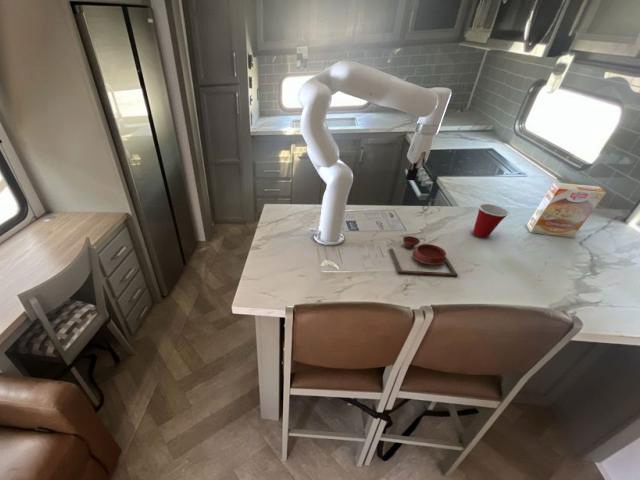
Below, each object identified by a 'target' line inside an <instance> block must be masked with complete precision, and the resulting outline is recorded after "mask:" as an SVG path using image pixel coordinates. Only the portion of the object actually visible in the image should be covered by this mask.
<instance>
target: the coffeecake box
mask: <svg viewBox="0 0 640 480" xmlns="http://www.w3.org/2000/svg"><path fill="white" fill-rule="evenodd" d="M606 194H607V192H606V191H605V190H604V189H603V188H602V187H601V186H600V185H587V184H576V183H564V182H554V181H553V183H552V184H551V186H550V187H549V189H548V190H547V192H546V194H545V195H544V197H543V199H542V200H541V201H540V203H539V204H538V207H537V208H536V210H535V211H534V213H533V215H532V216H531V217H530V219H529V221H528V223H527V224H526V226H527V228H528V230H529V232H530V233H533V234H540V235H549V236H557V237H565V238H574V237H575V235H576V234H577V233H578V231H579V230H580V229H581V227H582V226H583V225H584V224H585V222H586V221H587V219H588V218H589V217H590V215H591V214H592V213H593V211H594V210H595V209H596V208H597V206H598V205H599V203H600V202H601V201H602V200H603V198H604V197H605V195H606Z"/></svg>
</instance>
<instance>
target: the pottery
mask: <svg viewBox="0 0 640 480" xmlns="http://www.w3.org/2000/svg"><path fill="white" fill-rule="evenodd" d="M402 241H403V243H404V245H405V246H404V247H405V248H406V249H413V248H414V247H416V246H417V247H416V249H414V250H413V252H412V257H413V258H414V259H415V260H416V261H418V262H420V263H422V264H424V265H428V266H440V265H443V264H444V263H445V262H446V257H447V252H446V250H445V249H443V248H442V247H440V246H438V245H434V244H430V243H429V244H428V243H424V244H420V243H421V240H420V239H419V238H417V237H415V236H404V237H403V238H402ZM419 244H420V245H419ZM445 256H446V257H445ZM445 264H446V263H445Z"/></svg>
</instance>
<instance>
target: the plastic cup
mask: <svg viewBox="0 0 640 480" xmlns="http://www.w3.org/2000/svg"><path fill="white" fill-rule="evenodd" d="M509 215H510V212H509V210H507V209H506V208H504V207H502V206H499V205H495V204H491V203H481V204H480V205H478V212H477V216H476V219H475V223H474V226H473V230H472V235H474V237H477V238H479V239H481V238H482V239H487V238H488V237H489V236H490V235H491V234H492V233H493V231H494V230H495V229H496V228H497V227H498V226H499V224H500V223H501V222H502V221H503V220H504V219H505V218H506V217H508V216H509Z"/></svg>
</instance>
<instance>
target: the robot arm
mask: <svg viewBox="0 0 640 480" xmlns="http://www.w3.org/2000/svg"><path fill="white" fill-rule="evenodd" d="M338 92H339V93H341V94H344V95H348V96H351V97H354V98H356V99H360V100H363V101H366V102H369V103H371V104H374V105H378V106H380V107H384V108H385V107H386V108H389V109H393V110H397V111H400V112H404V113H406V114H409V115H412V116H415V117H418V120H417V123H416V126H415V129H414V135H413V137H412V139H411V142H410V145H409V147H408V151H407V153H406V158H407V159H408V161H409V165H408V170H407V171H406V172H407V173H406V176H405V180H406V181H412V182H413V181H416V178H417V176H418V173H419V170H420V169H422V166H423V165H425V164H426V163H427V161H428V158H429V155H430V153H431V149H432V146H433V142H434V139H435V136H437V135H438V133H439V130H440V127H441V124H442V121H443V119H444V116H445V113H446V110H447V108H448V104H449V102H450V99H451V97H452V92H453V91H452V89H451V88H449V87H441V86H436V87H435V86H434V87H430V88H427V87H423V86H421V85H418V84H415V83H412V82H410V81H406V80H404V79H402V78H399V77H398V76H395V75H393V74H390V73H387V72H385V71H382V70H379V69H376V68H373V67H370V66H368V65H365V64H363V63H359V62H357V61H353V60H348V59H346V60H345V59H344V60H339V61H337V62H335V63H333V64H332V65H330V66H329V67H327V68H325V69H324V70H321V72H319V73H317V74H316V75H314V76H312V77H311V78H309V79H308V80H306V81H305V82H304V83H302V85H301V86H300V88H299V90H298V94H297V96H298V97H297V98H298V103H299V105H300V106H301V107H302V108H303V109H302V112H301V116H300V121H299V122H300V123H299V127H300V128H299V129H300V133H301V135H302V137H303V139H304V142H305V143H306V154H307V156H308V158H309V160H310V161H311V163H312V166H313V167H314V169H315V171H316V172H317V174H318V176H320V178H321V180H322V181H323V182H324V183H325V184H326V188H325V191H324V193H323V196H322V202H321V210H320V218H319V223H318V225H317V227H315V228H313V227H308V228H307V233H308V234H310V236H313V239H314V240H315V241H316V242H317V243H318V244H320V245H324V246H336V245H337V246H338V245H340V244H342V243H343V242H344V238H345V237H344V234H343V233H342V229H343V225H344V224H343V223H344V219H345V214H346V208H347V204H348V203H347V202H348V199H349V195H350V191H351V189H352V186H353V183H354V173H353V170H352V169H351V168H350V167H349V166H348V165H347V164H346V163H345V162H344V161H342V160H341V158H340V148H339V146H338V144H337V142H336V141H335V139H334V137H333V135H332V133H331V131H330V129H329V126H328V124H327V121H326V120H327V114H328V111H329V109H330V107H331V104H332V100H333V99H332V98H333V95H335V94H337V93H338Z"/></svg>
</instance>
